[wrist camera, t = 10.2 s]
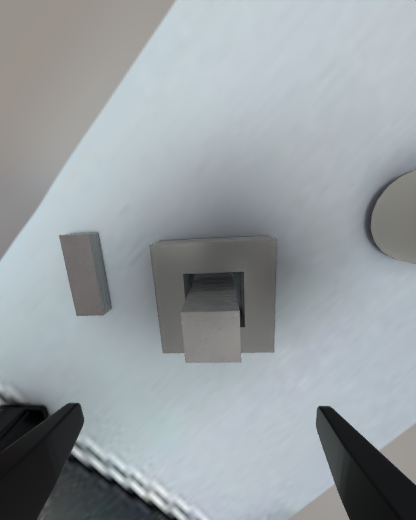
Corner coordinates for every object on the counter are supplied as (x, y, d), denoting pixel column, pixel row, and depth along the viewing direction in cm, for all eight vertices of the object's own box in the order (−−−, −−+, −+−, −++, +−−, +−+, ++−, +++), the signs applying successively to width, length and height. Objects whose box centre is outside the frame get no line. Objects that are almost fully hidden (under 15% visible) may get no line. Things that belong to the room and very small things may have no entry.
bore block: (266, 332, 20) (274, 352, 17) (171, 333, 21) (162, 353, 18) (267, 235, 18) (276, 239, 15) (160, 240, 18) (149, 245, 16)
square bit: (232, 303, 19) (240, 362, 12) (199, 304, 20) (185, 362, 12) (231, 271, 19) (239, 310, 11) (196, 272, 19) (180, 312, 11)
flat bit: (113, 306, 21) (103, 315, 19) (88, 307, 21) (76, 315, 19) (100, 232, 19) (88, 234, 17) (73, 233, 19) (59, 235, 18)
